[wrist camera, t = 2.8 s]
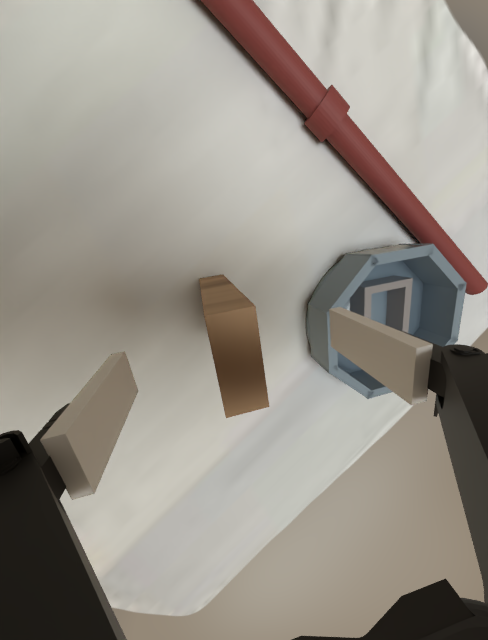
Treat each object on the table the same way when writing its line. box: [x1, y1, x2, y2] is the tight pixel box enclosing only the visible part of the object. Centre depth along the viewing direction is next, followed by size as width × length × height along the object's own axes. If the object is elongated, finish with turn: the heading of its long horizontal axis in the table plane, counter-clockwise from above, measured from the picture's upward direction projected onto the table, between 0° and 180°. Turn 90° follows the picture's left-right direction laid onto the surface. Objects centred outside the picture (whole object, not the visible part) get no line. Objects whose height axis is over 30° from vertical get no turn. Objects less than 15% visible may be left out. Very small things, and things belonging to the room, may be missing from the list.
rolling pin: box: [201, 0, 488, 295], centre depth 23 cm, size 45×3×3 cm, turn 54°
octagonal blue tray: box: [306, 243, 467, 399], centre depth 27 cm, size 16×16×5 cm
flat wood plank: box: [199, 275, 269, 418], centre depth 19 cm, size 6×2×14 cm, turn 8°
